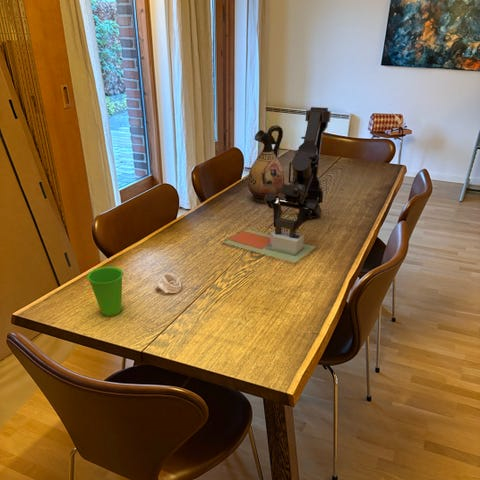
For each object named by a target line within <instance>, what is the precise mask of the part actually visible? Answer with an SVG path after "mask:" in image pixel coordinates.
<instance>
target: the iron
mask: <svg viewBox="0 0 480 480" xmlns="http://www.w3.org/2000/svg"><path fill="white" fill-rule="evenodd" d="M295 222H296V220H293V219H289V218H284V217H280V218H279V217H278V218H277V219H276V220H275V227H274V231H270V234H269V235H270V243H269V244H268V245H267V246H266V249H269V250H273V251H277V252H281V253H285V254H290V255H294V256H296V255H297V254H298V253H299V252H300V251H301V250H303V247H304V246H303V244H305V243H304V242H305V235H304V234H300V233H297V230H296V231H295V232H294V231H293V227H294V225H295ZM282 229H288V230H289V231H287V230H282Z"/></svg>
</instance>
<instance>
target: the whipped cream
mask: <svg viewBox="0 0 480 480" xmlns="http://www.w3.org/2000/svg"><path fill="white" fill-rule="evenodd" d="M172 281H173V283H170V282H172ZM159 289H160V290H161V291H162V292H163V293H165V294H168V293H170V294H177V293H179V292H180V291H181V289H182V283H181V281H180V279H179V278H178V276H176V275H175V274H173V273H171V272H168V273H164V274H163V275H162V276H161V278H160V280H158V282H157V285H156V287H155V291H157V290H159Z"/></svg>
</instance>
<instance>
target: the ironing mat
mask: <svg viewBox="0 0 480 480" xmlns="http://www.w3.org/2000/svg"><path fill="white" fill-rule="evenodd" d="M223 243H224V244H227V245H230V246H234V247H237V248H241V249H245V250H248V251H252V252H255V253H259V254H261V255H265V256H269V257H273V258H275V259H276V258H277V259H280V260H282V261H283V260H284V261H287V262H290V263H294V264H296V263H297V262H298V261H299V260H301V259H302V258H303V257H305V256H307V254H309V253H310V252H312V251H313V250H315V249H316V248H317V246H315V245H310V244H307V243H304V244H303V246H304V247H303V250H301V251H300V252H299V253H298V254H297V255H296V256H294V255H290V254H285V253H281V252H277V251H273V250H269V249H266V246H267V245H268V244H269V243H270V234H268V233H265V232H261V231H256V230H253V229H250V228H247V229H245V230H243V231H242V232H239V233H238V234H236V235H234V236H233V237H231V238H229V239H227V240H225V241H224V242H223Z"/></svg>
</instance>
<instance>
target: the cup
mask: <svg viewBox="0 0 480 480" xmlns="http://www.w3.org/2000/svg"><path fill="white" fill-rule="evenodd" d="M123 277H124V271H123V270H122V268H119V267H116V266H102V267H97V268H94V269H93V270H91V271H90V272H88V273H87V275H86V279H87V281H89V283H90V287H91V288H92V289H91V290H92V291H93V294H94V296H95V298H96V302H97V305H98V307H99V309H100V312H101V313H102V315H103V316H105V317H106V316H107V317H113V316H116V315H119V314H120V313H121V311H122V303H123V302H122V297H123V296H122V295H123Z"/></svg>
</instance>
